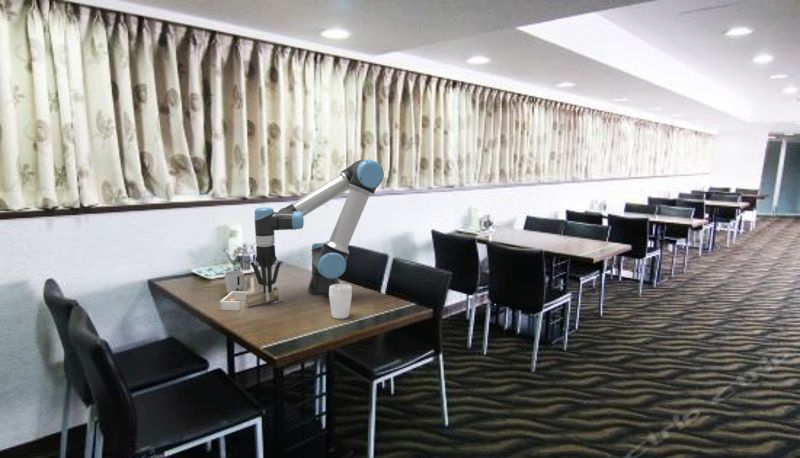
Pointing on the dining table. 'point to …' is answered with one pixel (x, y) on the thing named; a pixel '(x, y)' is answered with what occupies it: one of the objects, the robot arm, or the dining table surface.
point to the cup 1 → (234, 281)
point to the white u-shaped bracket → (232, 305)
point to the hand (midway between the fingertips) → (268, 300)
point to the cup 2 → (340, 300)
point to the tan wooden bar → (261, 297)
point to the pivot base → (275, 301)
